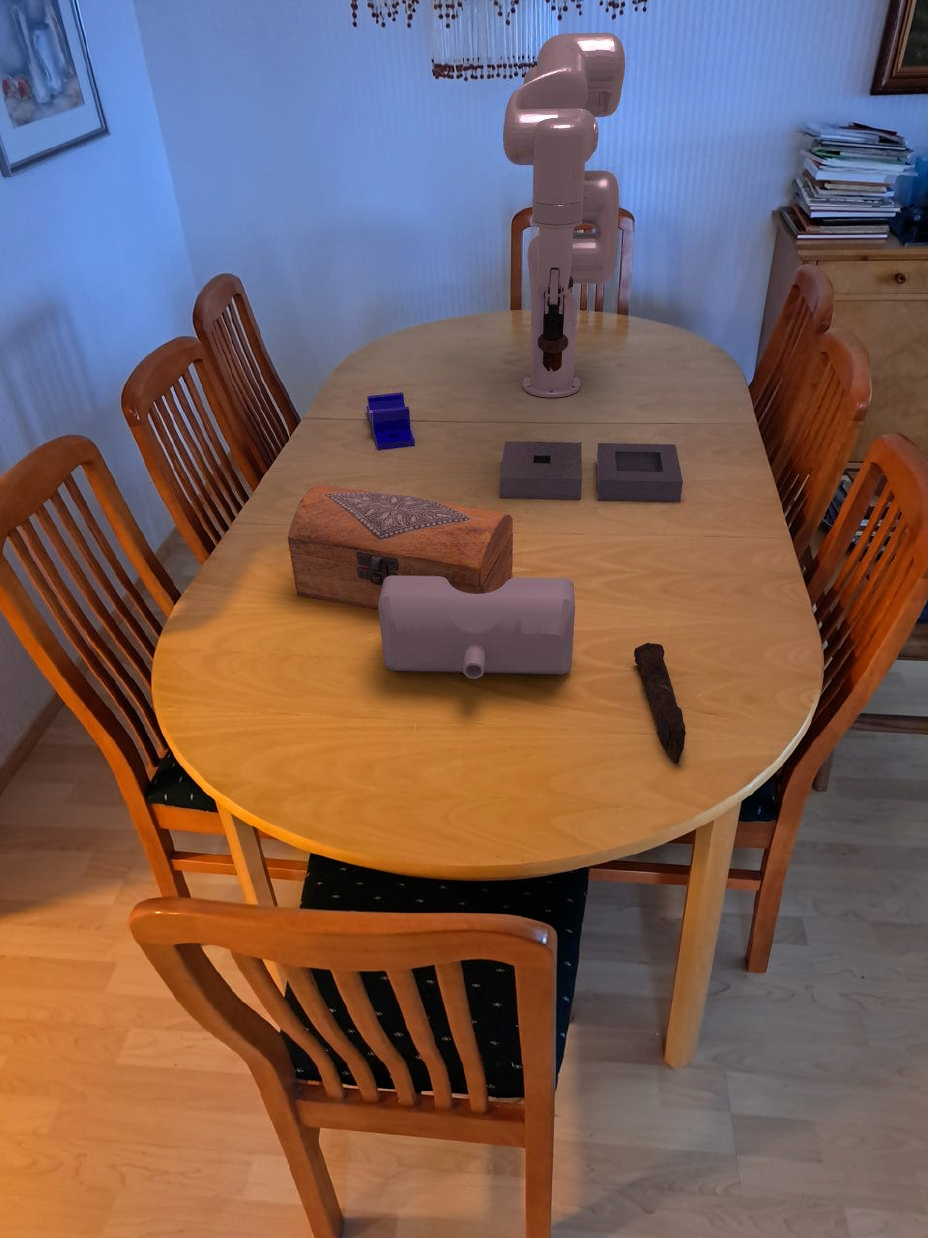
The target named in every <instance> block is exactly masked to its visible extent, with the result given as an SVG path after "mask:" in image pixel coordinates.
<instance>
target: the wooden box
mask: <svg viewBox="0 0 928 1238" xmlns="http://www.w3.org/2000/svg"><path fill="white" fill-rule="evenodd" d="M513 528H514V527H513V518H512V515H511V514H510V513H506V512H502V511H497V510H490V509H489V510H488V509H484V508H483V509H482V508H478V507H472V506H471V507H470V506H464V505H457V504H451V503H444V502H439V501H434V500H430V499H427V498H421V497H415V496H410V495H397V494H391V493H390V494H388V493H382V492H376V491H368V490H362V489H361V490H360V489H354V488H347V487H346V488H345V487H339V486H333V485H327V484H318V485H315V486H313V487H312V488H311V489H309V490H308V491H307V492H306V493H305V494H304V495H303V496H302V498H301V499H300V501H299V504H298V505H297V507H296V511H295V512H294V516H293V518H292V521H291V523H290V526H289V529H288V530H289V531H288V535H287V542H288V550H289V551H288V552H290V553H289V555H290V562H291V567H292V574H293V578H294V579H293V580H294V584H295V591H296V595H297V596H298V597H302V598H309V599H314V600H320V601H326V602H333V603H338V604H343V605H348V606H354V607H359V608H360V607H361V608H366V609H371V610H377V611H379V609H378V603H379V598H380V594H381V590H382V586H383V581H384V579H385V578H386V577H388V576H440V577H444V578H446V579H447V580H448V582H449V583H450V585H451V586H452V587H454V588H455V589H457V590H459V591H461V592H465V593H470V594H484V593H489V592H492V591H495V590H497V589H499V588H501V587H502V586H503V585H504V584H505V583H506V581H508V580H509V579H511V578H512V575H513V563H514V562H513V559H514V558H513V555H514V551H513V550H514V547H513V545H514V532H513V530H514V529H513Z"/></svg>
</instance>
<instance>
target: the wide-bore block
mask: <svg viewBox="0 0 928 1238" xmlns="http://www.w3.org/2000/svg"><path fill="white" fill-rule="evenodd" d="M596 449H597V450H596V451H597V452H596V461H595V462H596V464H595V465H596V482H597V484H596V485H597V501H611V502H612V501H613V502H615V501H617V502H618V501H619V502H651V503H653V502H655V503H656V502H658V503H660V502H661V503H663V502H664V503H681V500H682V499H681V498H682V489H683V483H684V481H683V480H684V479H683V475H682V471H681V465H680V460H679V456H678V450H677V446H676V444H675V443H670V444H669V443H667V444H666V443H662V444H661V443H628V442H627V443H626V442H625V443H624V442H623V443H619V442H617V443H616V442H597V448H596Z"/></svg>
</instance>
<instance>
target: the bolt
mask: <svg viewBox="0 0 928 1238" xmlns="http://www.w3.org/2000/svg"><path fill="white" fill-rule="evenodd" d="M550 278H551V276H550ZM536 286H537V279H536ZM573 287H574V284H573V278H572V277H571V275H570V279H569V285H568V289H569V290H570V289H572V288H573ZM563 289H564V287H563ZM548 292H550V289H548ZM558 292H561V289H558ZM545 294H546V290H545V292H544V301H545ZM563 294H564V293H563ZM564 298H565V295H563V309H562V312H564ZM549 300H550V297H549ZM558 300H559V301H560V298H558ZM544 312H545V302H544ZM567 346H568V338H567V337H566V335H564V334H563V337H562V338H544V337H543V334H542V335H540V337H539V338H538V347H539V348H540V349H541V350H542V351H543V365H544V367H545V368H546V370H547V371H551V370H550V367H551V369H552V371H553V372H554V371H557V370H559V369H560V368H561V365H562V351H563V350H565V349H566V348H567Z"/></svg>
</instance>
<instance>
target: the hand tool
mask: <svg viewBox="0 0 928 1238" xmlns="http://www.w3.org/2000/svg"><path fill="white" fill-rule="evenodd" d="M633 657H634V662H635V664H636V665H637V669H638V672H639V673H640V674H641V679H642V683H644V686H645V690H646V691H645V692H646V696H647V698H648V701H649V704H650V707H651V711H652V715H653V717H654V721H655V725H656V730H657V731H656V733H657V736H658V739H659V741H660V744H661V746H662V747H663V749H664V751H665V752H666V753H667V755H668V757H669V758H670V759H671V760H672V763H673V762H674V764H675V765H678V764H679V762H680V760H681V757H682V754H683V751H684V748H685V739H686V734H687V733H686V731H687V730H686V724H685V722H684V716H683V715H684V714H683V711H682V708H681V707H679V706H678V702H677V698H676V695H675V691H674V688H673V684H672V681H671V678H670V674H669V672H668V667H667V666H666V662H665V659H664V657H665V649H664V647H663V645H662V644H661V643H660V644H659V643H650V642H646V643H644V644H641V645H639V646H637V647H635V648H634V651H633Z"/></svg>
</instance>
